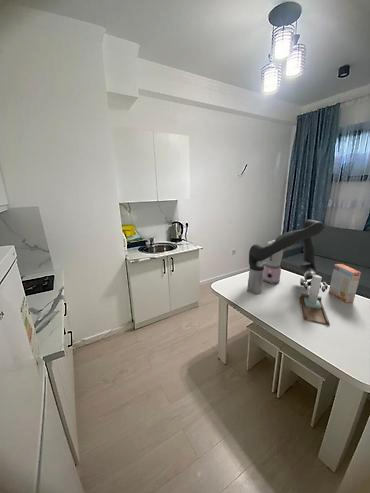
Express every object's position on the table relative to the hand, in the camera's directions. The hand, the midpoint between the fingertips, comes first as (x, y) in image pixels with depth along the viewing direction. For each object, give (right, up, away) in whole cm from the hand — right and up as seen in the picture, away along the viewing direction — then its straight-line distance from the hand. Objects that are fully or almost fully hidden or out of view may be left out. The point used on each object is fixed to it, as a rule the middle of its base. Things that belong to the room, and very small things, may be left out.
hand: (315, 289), depth 121 cm
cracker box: (+25, -8, +14) cm, 30 cm away
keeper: (+1, -10, +4) cm, 11 cm away
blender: (-12, -2, +36) cm, 38 cm away
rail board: (-1, -12, 0) cm, 13 cm away
